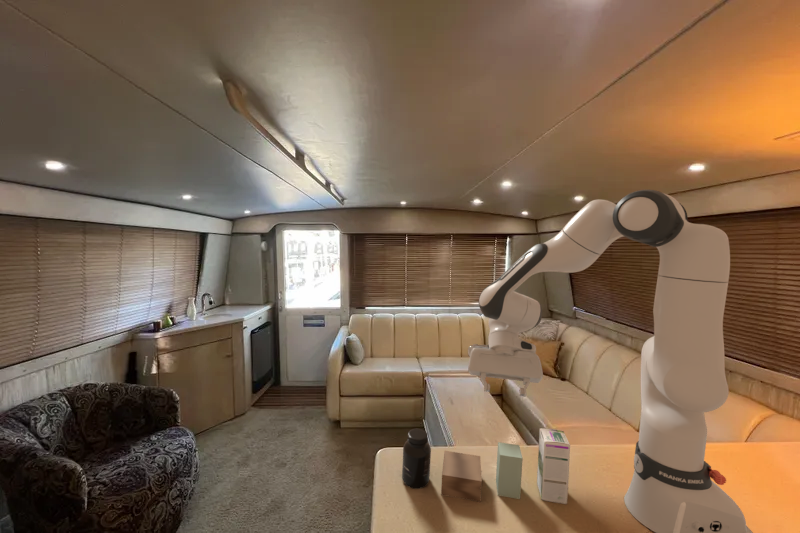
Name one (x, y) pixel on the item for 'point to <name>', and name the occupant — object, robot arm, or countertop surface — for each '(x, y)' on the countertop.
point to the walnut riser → (461, 476)
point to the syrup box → (553, 465)
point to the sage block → (509, 470)
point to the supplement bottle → (416, 459)
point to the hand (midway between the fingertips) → (504, 393)
